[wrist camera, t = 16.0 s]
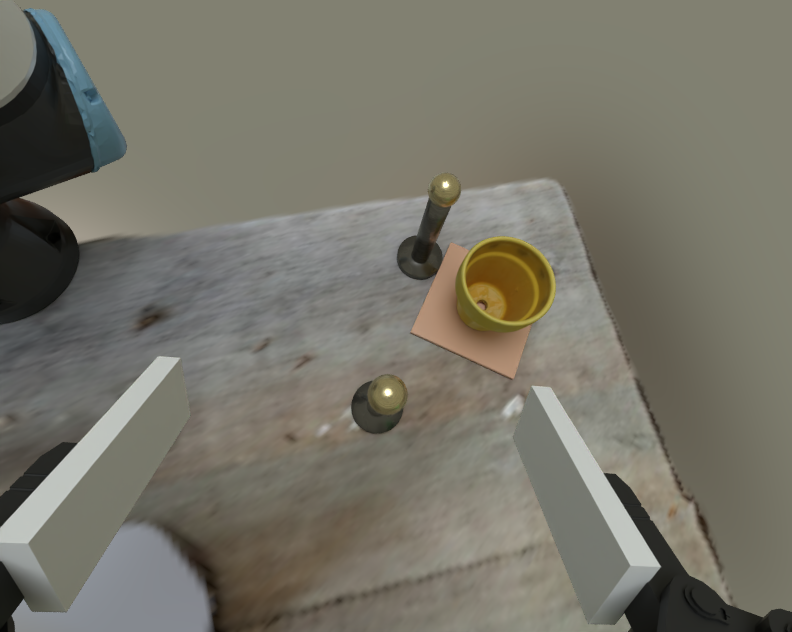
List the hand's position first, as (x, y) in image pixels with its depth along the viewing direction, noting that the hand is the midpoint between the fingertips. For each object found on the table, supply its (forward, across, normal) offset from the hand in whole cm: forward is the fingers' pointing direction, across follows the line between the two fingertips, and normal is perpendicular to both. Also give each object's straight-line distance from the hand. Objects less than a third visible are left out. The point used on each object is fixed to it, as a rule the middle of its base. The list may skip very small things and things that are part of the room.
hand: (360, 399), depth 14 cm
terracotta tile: (+33, +15, -11) cm, 38 cm away
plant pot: (+32, +15, -11) cm, 37 cm away
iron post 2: (+37, +7, -7) cm, 38 cm away
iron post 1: (+23, +2, -21) cm, 31 cm away
